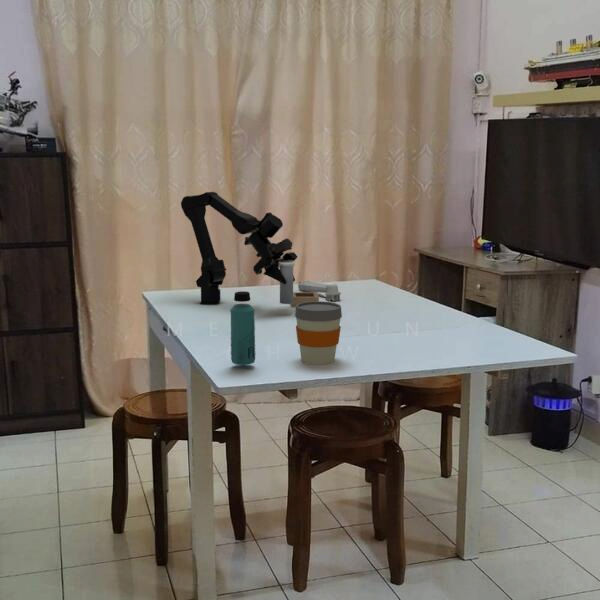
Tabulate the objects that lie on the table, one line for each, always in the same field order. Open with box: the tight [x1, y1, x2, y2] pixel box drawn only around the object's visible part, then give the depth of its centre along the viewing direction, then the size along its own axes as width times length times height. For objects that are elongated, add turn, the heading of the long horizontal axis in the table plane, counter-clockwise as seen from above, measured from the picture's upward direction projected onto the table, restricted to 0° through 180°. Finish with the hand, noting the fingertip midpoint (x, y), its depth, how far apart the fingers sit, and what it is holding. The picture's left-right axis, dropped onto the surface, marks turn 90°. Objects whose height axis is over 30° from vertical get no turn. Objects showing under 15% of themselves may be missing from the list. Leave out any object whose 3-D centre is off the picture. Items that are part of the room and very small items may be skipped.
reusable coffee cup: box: [294, 300, 343, 366], centre depth 214 cm, size 13×13×15 cm
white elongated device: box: [297, 280, 341, 302], centre depth 302 cm, size 5×7×25 cm
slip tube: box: [279, 260, 295, 305], centre depth 268 cm, size 5×5×14 cm
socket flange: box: [290, 291, 320, 308], centre depth 285 cm, size 10×10×4 cm
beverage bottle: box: [229, 291, 257, 366], centre depth 207 cm, size 6×7×20 cm
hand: (289, 282), depth 267 cm, fingers closed on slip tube, 4 cm apart
